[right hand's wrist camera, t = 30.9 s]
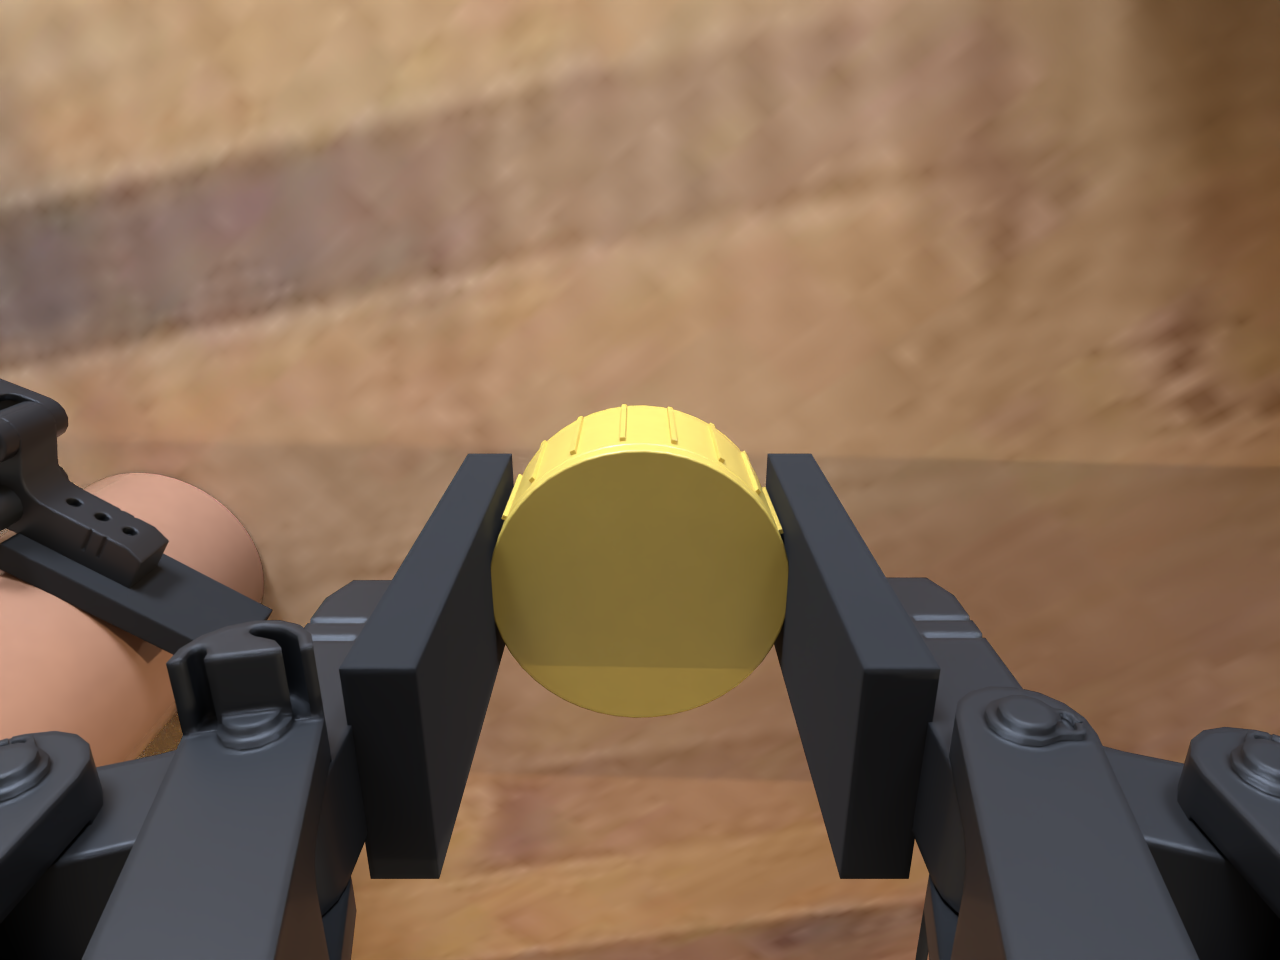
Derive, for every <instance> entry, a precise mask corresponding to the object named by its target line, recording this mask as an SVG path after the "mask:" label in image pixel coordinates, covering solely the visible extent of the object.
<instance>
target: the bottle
mask: <svg viewBox="0 0 1280 960" xmlns="http://www.w3.org/2000/svg"><path fill="white" fill-rule="evenodd" d="M83 490H85V491H87V492H89V493H91V494H93V495H95V496H97V497H99V498H101V499H103V500H104V501H106V502H108V503H110V504H112V505H114V506H116V507H118V508H120V510H121V511H125V512H127V513H129V514H131V515H133V516H134V517H135V518H139V519H141V520H143V521H145V522H147V523H148V524H150V525H152V526H154V527H156V528H157V529H158V530H159V531H160V532H161V533H162V534H163V535H164V536H165V537H166V538H167V539H168V540H169V542H168V544H167V546H166V549H165V551H164V554H165V555H167V556H169V557H171V558H173V559H175V560H177V561H179V562H181V563H183V564H185V565H187V566H189V567H191V568H193V569H194V570H196V571H198V572H200V573H202V574H204V575H206V576H208V577H210V578H212V579H214V580H216V581H218V582H220V583H221V584H223V585H225V586H227V587H229V588H231V589H233V590H235V591H237V592H239V593H241V594H243V595H245V596H247V597H249V598H250V599H252V600H254V601H256V602H258V603H260V604H261V603H262V599H263V591H264V575H263V569H262V563H261V560H260V557H259V554H258V551H257V549H256V547H255V545H254V542H253V540H252V539H251V537H250V535H249V534H248V532H247V531H246V529H245V528H244V526H243V525H242V524H241V523H240V521H239V520H238V519H237V518H236V517H235V516H234V515H233V514H232V513H231V512H230V511H229V510H228V509H227V508H226V507H225V506H224V505H223V504H221V503H220V502H219V501H218V500H216V499H215V498H214V497H212V496H210V495H209V494H207V493H206V492H204V491H203V490H201V489H199V488H197V487H195V486H193V485H191V484H188V483H186V482H183V481H180V480H178V479H175V478H171V477H167V476H163V475H157V474H150V473H127V474H118V475H114V476H110V477H106V478H104V479H101V480H99V481H96V482H94V483H92V484H91V485H89V486H87V487H85V488H84V489H83ZM15 534H17V533H15V532H13V531H11V530H10V531H8V532H7V533H5V534H3V535H1V536H0V543H2V542H3V541H5V540H7V539H8V538H10V537H12V536H14V535H15ZM172 656H173V654H171V653H169V652H167V651H165V650H163V649H161V648H159V647H156V646H154V645H152V644H150V643H148V642H146V641H144V640H142V639H140V638H138V637H136V636H134V635H132V634H130V633H128V632H126V631H124V630H122V629H120V628H118V627H116V626H114V625H112V624H110V623H108V622H106V621H104V620H102V619H100V618H98V617H96V616H94V615H92V614H90V613H88V612H86V611H84V610H82V609H80V608H78V607H76V606H74V605H72V604H70V603H68V602H66V601H63V600H61V599H59V598H58V597H56V596H54V595H51V594H49V593H47V592H45V591H43V590H41V589H39V588H37V587H35V586H33V585H31V584H29V583H27V582H25V581H23V580H21V579H19V578H17V577H15V576H13V575H11V574H9V573H7V572H5V571H3V570H1V569H0V740H3V739H6V738H8V739H10V738H12V737H13V736H18V735H23V734H29V733H39V732H48V731H60V732H66V733H73V734H77V735H79V736H80V737H81V738H82V739H84V740H85V741H86V742H88V743H89V745H90V748H91V752H92V755H93V759H94V762H95V765H96V767H100V766H105V765H110V764H115V763H120V762H125V761H130V760H134V759H137V757H138V756H139V755H140V754H141V753H142V752H143V751H144V749H145V748H146V747H147V746H148V745H149V744H150V742H151V741H152V740H153V739H154V738H155V737H156V735H157V734H158V733H159V732H160V731H161V730H162V728H163V727H164V726H165V725H166V724H167V723H168V721H169V720H170V719H171V718H172V717H173V716H174V714H175V713H176V712H177V708H176V704H175V699H174V695H173V691H172V687H171V683H170V679H169V674H168V670H167V666H166V663H167V662H168V661H169V659H170V658H171V657H172Z"/></svg>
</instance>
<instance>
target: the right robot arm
mask: <svg viewBox="0 0 1280 960" xmlns="http://www.w3.org/2000/svg"><path fill="white" fill-rule="evenodd" d="M513 487H514V484H513V467H512V454H468V455H467V457H466V458H465V460H464V462H463V463H462V465H461V467H460V468H459V470H458V472H457V473H456V475H455V477H454V478H453V480H452V482H451V483H450V485H449V487H448V488H447V490H446V491H445V493H444V495H443V496H442V498H441V500H440V501H439V503H438V505H437V506H436V508H435V510H434V511H433V513H432V515H431V516H430V518H429V520H428V521H427V523H426V525H425V526H424V528H423V530H422V531H421V533H420V535H419V536H418V538H417V540H416V541H415V543H414V545H413V546H412V548H411V550H410V551H409V553H408V555H407V556H406V558H405V560H404V561H403V563H402V565H401V566H400V568H399V570H398V571H397V573H396V575H395V576H394V578H393V580H353V581H352V582H350V583H349V584H347V585H346V586H344V587H342V588H341V589H339V590H338V591H336V592H335V593H333V594H332V595H330V596H329V597H327V598H326V599H325V600H324V601H323V603H322V604H321V606H320V607H319V608H318V610H317V611H316V612H315V614H314V615H313V617H312V618H311V622H310V623H307V625H306V626H305V627H304V628H303V627H302V626H300V625H298V624H294V623H290V622H285V621H281V620H260V621H250V622H245V623H240V624H234V625H229V626H226V627H223V628H220V629H218V630H215V631H212V632H209V633H207V634H204V635H201V636H199V637H198V638H196V639H195V640H193V641H191V642H190V643H188V644H186V645H185V646H183V647H181V648H180V649H179V650H178V651H177V652H176V653H175V654H174V655H173V656H172V657H171V658H170V659H169V661H168V662H167V663H166V666H167V670H168V674H169V679H170V683H171V687H172V691H173V695H174V699H175V704H176V708H177V712H178V716H179V720H180V724H181V729H182V733H183V736H182V739H181V741H180V743H179V745H178V747H177V750H173V751H170V752H166V753H162V754H158V755H154V756H149V757H144V758H139V759H134V760H130V761H125V762H120V763H115V764H110V765H105V766H100V767H96V765H95V762H94V759H93V755H92V752H91V748H90V745H89V743H88V742H86V741H85V740H84V739H82V738H81V737H80V736H79V735H77V734H73V733H66V732H60V731H48V732H39V733H29V734H23V735H18V736H13V737H12V738H10V739H8V738H6V739H3V740H0V960H351V954H352V945H353V936H354V927H355V918H356V905H355V898H354V891H353V885H352V879H351V874H352V872H353V869H354V867H355V864H356V862H357V860H358V857H359V855H360V852H361V850H362V847H363V845H364V842H365V844H366V851H367V857H368V864H369V870H370V877H371V879H439V877H440V874H441V870H442V867H443V863H444V860H445V856H446V853H447V849H448V846H449V842H450V838H451V835H452V831H453V828H454V824H455V821H456V817H457V814H458V810H459V807H460V803H461V799H462V796H463V792H464V789H465V785H466V782H467V778H468V775H469V771H470V768H471V764H472V760H473V757H474V753H475V750H476V746H477V743H478V739H479V736H480V732H481V729H482V725H483V722H484V718H485V714H486V711H487V707H488V704H489V700H490V697H491V693H492V690H493V686H494V683H495V679H496V675H497V672H498V668H499V665H500V661H501V658H502V654H503V651H504V647H505V642H504V641H503V639H502V637H501V635H500V632H499V630H498V627H497V625H496V623H495V619H494V608H493V594H492V580H491V560H492V555H493V551H494V548H495V545H496V542H497V539H498V537H499V534H500V531H501V529H502V526H503V523H504V521H505V520H502V519H501V518H502V515H503V513H504V510H505V508H506V505H507V502H508V500H509V497H510V495H511V492H512V490H513ZM766 490H767V492H768V495H769V497H770V500H771V502H772V505H773V507H774V510H775V512H776V515H777V517H778V520H779V522H780V524H781V527H782V530H783V532H784V533H783V534H780V536H781V538H782V541H783V543H784V547H785V550H786V554H787V558H788V562H789V569H788V584H787V598H786V612H785V619H784V622H783V625H782V628H781V631H780V633H779V635H778V637H777V639H776V641H775V643H774V645H775V649H776V652H777V656H778V660H779V663H780V667H781V670H782V674H783V677H784V681H785V684H786V688H787V691H788V695H789V699H790V702H791V706H792V709H793V713H794V716H795V720H796V723H797V727H798V730H799V734H800V738H801V741H802V745H803V748H804V752H805V755H806V759H807V762H808V766H809V769H810V773H811V777H812V780H813V784H814V787H815V791H816V794H817V798H818V801H819V805H820V808H821V812H822V816H823V819H824V823H825V826H826V830H827V833H828V837H829V840H830V844H831V847H832V851H833V855H834V858H835V862H836V865H837V869H838V872H839V876H840V879H909V873H910V867H911V860H912V854H913V847H914V840H916V842H917V845H918V847H919V849H920V852H921V854H922V857H923V859H924V862H925V864H926V866H927V869H928V871H929V879H928V885H927V891H926V898H925V904H924V910H923V916H922V922H921V928H920V934H919V940H918V947H917V953H916V960H927V957H928V952H929V960H1280V736H1277V735H1274V734H1272V735H1270V734H1269V733H1267V732H1262V731H1257V730H1249V729H1240V728H1230V727H1222V728H1216V729H1209V730H1203V731H1202V732H1201V733H1199V734H1198V735H1197V736H1196V737H1194V738H1193V739H1192V740H1191V742H1190V746H1189V749H1188V753H1187V756H1186V760H1185V763H1184V764H1183V763H1178V762H1173V761H1168V760H1163V759H1158V758H1153V757H1148V756H1143V755H1138V754H1133V753H1128V752H1124V751H1120V750H1116V749H1112V748H1108V747H1105V746H1102V744H1101V742H1100V739H1099V737H1098V735H1097V733H1096V732H1095V731H1094V729H1093V728H1092V727H1091V726H1090V724H1089V723H1088V722H1087V720H1086V719H1085V718H1084V717H1083V716H1081V715H1080V714H1078V713H1077V712H1076V711H1074V710H1073V709H1071V708H1070V707H1068V706H1067V705H1066V704H1064V703H1062V702H1060V701H1057V700H1055V699H1053V698H1050V697H1048V696H1046V695H1043V694H1041V693H1038V692H1034V691H1029V690H1025V689H1022V687H1021V686H1020V684H1019V683H1018V682H1017V680H1016V679H1015V678H1014V676H1013V675H1012V674H1011V672H1010V671H1009V670H1008V668H1007V667H1006V665H1005V664H1004V663H1003V661H1002V660H1001V659H1000V657H999V656H998V655H997V653H996V652H995V651H994V649H993V648H992V646H991V645H990V644H989V642H988V641H987V640H986V638H982V633H981V632H980V630H979V629H978V627H977V626H976V625H975V623H974V622H973V621H972V620H969V615H968V614H967V613H966V611H965V610H964V608H963V607H962V606H961V604H960V603H959V602H958V600H957V599H956V598H955V596H954V595H952V594H951V593H949V592H948V591H946V590H945V589H943V588H941V587H940V586H938V585H937V584H935V583H934V582H932V581H931V580H929V579H927V578H886V577H885V576H884V574H883V572H882V571H881V569H880V567H879V566H878V564H877V562H876V561H875V559H874V557H873V556H872V554H871V552H870V551H869V549H868V547H867V546H866V544H865V542H864V541H863V539H862V537H861V536H860V534H859V532H858V531H857V529H856V527H855V526H854V524H853V522H852V521H851V519H850V517H849V516H848V514H847V512H846V511H845V509H844V507H843V506H842V504H841V502H840V501H839V499H838V497H837V496H836V494H835V492H834V491H833V489H832V487H831V486H830V484H829V482H828V481H827V479H826V477H825V476H824V474H823V472H822V471H821V469H820V467H819V466H818V464H817V462H816V461H815V459H814V458H813V456H812V454H768V458H767V475H766Z"/></svg>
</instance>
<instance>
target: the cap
mask: <svg viewBox="0 0 1280 960" xmlns="http://www.w3.org/2000/svg"><path fill="white" fill-rule="evenodd" d="M501 519H502V520H505V521H504V523H503V526H502V529H501V531H500V534H499V537H498V539H497V542H496V545H495V548H494V551H493V555H492V560H491V580H492V594H493V608H494V619H495V623H496V625H497V627H498V630H499V632H500V635H501V637H502V639H503V641H504V642H505V644H506V646H507V647H508V649H509V651H510V653H511V654H512V655H513V657H514V658H515V659H516V660H517V662H518V663H519V664H520V666H521V667H522V668H523V669H524V670H525V671H526V672H527V673H528V674H529V675H530V676H531V677H532V678H533V679H534V680H535V681H537V682H538V683H539V684H541V685H542V686H543V687H545V688H546V689H547V690H549V691H550V692H552V693H554V694H555V695H557V696H559V697H560V698H562V699H564V700H566V701H568V702H570V703H573V704H575V705H577V706H579V707H582V708H585V709H588V710H592V711H595V712H598V713H603V714H608V715H613V716H621V717H633V718H641V717H658V716H665V715H672V714H676V713H680V712H684V711H688V710H691V709H694V708H696V707H699V706H702V705H704V704H707V703H709V702H711V701H713V700H715V699H717V698H719V697H721V696H722V695H724V694H725V693H727V692H728V691H730V690H731V689H733V688H734V687H736V686H737V685H739V684H740V683H741V682H742V681H743V680H744V679H746V678H747V677H748V676H749V675H750V674H751V673H752V672H753V671H754V670H755V669H756V668H757V667H758V665H759V664H760V663H761V662H762V661H763V660H764V658H765V657H766V655H767V654H768V652H769V651H770V649H771V648H772V646H773V645H774V643H775V641H776V639H777V637H778V635H779V633H780V631H781V628H782V625H783V622H784V619H785V612H786V598H787V584H788V569H789V562H788V558H787V554H786V550H785V547H784V543H783V541H782V538H781V536H780V534H783V533H784V532H783V530H782V527H781V524H780V522H779V520H778V517H777V515H776V512H775V510H774V507H773V505H772V502H771V500H770V497H769V495H768V492H767V490H766V487H763V488H762V487H761V485H760V482H759V480H758V478H757V475H756V473H755V471H754V470H753V468H752V466H751V463H750V461H749V458H748V456H747V453H746V452H745V451H743V452H741V451H740V450H739V449H738V447H737V446H736V445H735V444H734V443H733V442H731V441H730V440H729V439H728V438H727V437H726V436H725V435H724V434H722V433H721V432H720V431H718V430H717V429H715V425H714V424H712V423H710V424H707V423H705V422H704V421H702V420H700V419H698V418H696V417H693V416H691V415H688V414H685V413H683V412H680V411H676V410H673V408H672V407H668V408H663V407H654V406H627V404H625V405H622V407H618V408H611V409H607V410H603V411H600V412H596V413H593V414H590V415H588V416H586V417H584V418H583V416H580V417H578V419H577V421H575V422H573V423H572V424H570V425H568V426H567V427H565V428H563V429H562V430H560V431H559V432H558V433H557V434H555V435H554V436H553V437H552V438H550V439H549V440H548V441H547V442H546V441H545V440H544V441H543V442H542V443H541V446H540V449H539V451H538V452H537V453H536V454H535V456H534V457H533V458H532V460H531V461H530V463H529V464H528V465H527V467H526V469H525V471H524V473H523V475H520V474H519V475H518V477H517V479H516V482H515V485H514V487H513V490H512V492H511V495H510V497H509V500H508V502H507V505H506V508H505V510H504V513H503V515H502V518H501Z"/></svg>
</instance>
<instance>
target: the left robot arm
mask: <svg viewBox="0 0 1280 960" xmlns="http://www.w3.org/2000/svg"><path fill="white" fill-rule="evenodd" d="M67 427H68V417H67V414H66V412H65V410H64V409H63V407H62V406H61V405H60V404H59V403H58V402H56V401H54V400H53V399H51V398H49V397H46V396H44V395H41V394H38V393H36V392H33V391H31V390H28V389H26V388H23V387H20V386H18V385H15V384H13V383H10V382H8V381H5V380H3V379H0V531H1V530H3V529H5V528H7V529H9V530H11V531H13V532H15V533H17V534H15V535H14V536H12V537H10V538H8V539H7V540H5V541H3V542H2V543H0V569H1V570H3V571H5V572H7V573H9V574H11V575H13V576H15V577H17V578H19V579H21V580H23V581H25V582H27V583H29V584H31V585H33V586H35V587H37V588H39V589H41V590H43V591H45V592H47V593H49V594H51V595H54V596H56V597H58V598H59V599H61V600H63V601H66V602H68V603H70V604H72V605H74V606H76V607H78V608H80V609H82V610H84V611H86V612H88V613H90V614H92V615H94V616H96V617H98V618H100V619H102V620H104V621H106V622H108V623H110V624H112V625H114V626H116V627H118V628H120V629H122V630H124V631H126V632H128V633H130V634H132V635H134V636H136V637H138V638H140V639H142V640H144V641H146V642H148V643H150V644H152V645H154V646H156V647H159V648H161V649H163V650H165V651H167V652H169V653H171V654H173V655H174V654H175V653H176V652H177V651H178V650H179V649H180V648H181V647H183V646H185V645H186V644H188V643H190V642H191V641H193V640H195V639H196V638H198V637H199V636H201V635H204V634H207V633H209V632H212V631H215V630H218V629H220V628H223V627H226V626H229V625H234V624H240V623H245V622H250V621H260V620H267V619H268V617H269V616H270V614H271V612H272V609H270V608H268V607H266V606H264V605H262V604H260V603H258V602H256V601H254V600H252V599H250V598H249V597H247V596H245V595H243V594H241V593H239V592H237V591H235V590H233V589H231V588H229V587H227V586H225V585H223V584H221V583H220V582H218V581H216V580H214V579H212V578H210V577H208V576H206V575H204V574H202V573H200V572H198V571H196V570H194V569H193V568H191V567H189V566H187V565H185V564H183V563H181V562H179V561H177V560H175V559H173V558H171V557H169V556H167V555H165V554H164V551H165V549H166V546H167V544H168V542H169V540H168V539H167V538H166V537H165V536H164V535H163V534H162V533H161V532H160V531H159V530H158V529H157V528H156V527H154V526H152V525H150V524H148V523H147V522H145V521H143V520H141V519H139V518H135V517H134V516H133V515H131V514H129V513H127V512H125V511H121V510H120V508H118V507H116V506H114V505H112V504H110V503H108V502H106V501H104V500H103V499H101V498H99V497H97V496H95V495H93V494H91V493H89V492H87V491H85V490H83V489H82V488H80V487H78V486H76V485H75V484H73V483H71V482H70V481H69V479H68V476H67V474H66V473H65V471H64V470H63V468H62V467H60V466H59V465H58V458H57V437H58V436H60V435H61V434H63V433H64V432H65V431H66V429H67Z"/></svg>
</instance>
